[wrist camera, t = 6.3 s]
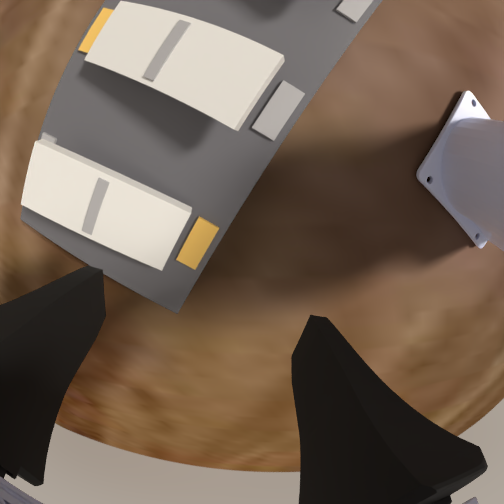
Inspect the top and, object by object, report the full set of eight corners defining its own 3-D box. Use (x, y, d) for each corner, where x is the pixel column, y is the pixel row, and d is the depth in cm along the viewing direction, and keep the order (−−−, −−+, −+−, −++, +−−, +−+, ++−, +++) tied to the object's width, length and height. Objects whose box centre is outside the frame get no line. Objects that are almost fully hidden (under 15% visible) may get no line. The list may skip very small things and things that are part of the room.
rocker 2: (192, 207, 14) (191, 214, 13) (163, 262, 15) (161, 271, 14) (43, 138, 10) (34, 141, 10) (28, 199, 12) (19, 205, 11)
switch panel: (391, -18, 9) (407, -31, 7) (183, 296, 19) (176, 317, 17) (218, -92, 6) (214, -110, 4) (36, 209, 16) (17, 221, 14)
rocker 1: (284, 61, 9) (283, 54, 9) (238, 131, 11) (233, 129, 10) (128, 5, 9) (119, 0, 8) (93, 62, 10) (82, 59, 9)
